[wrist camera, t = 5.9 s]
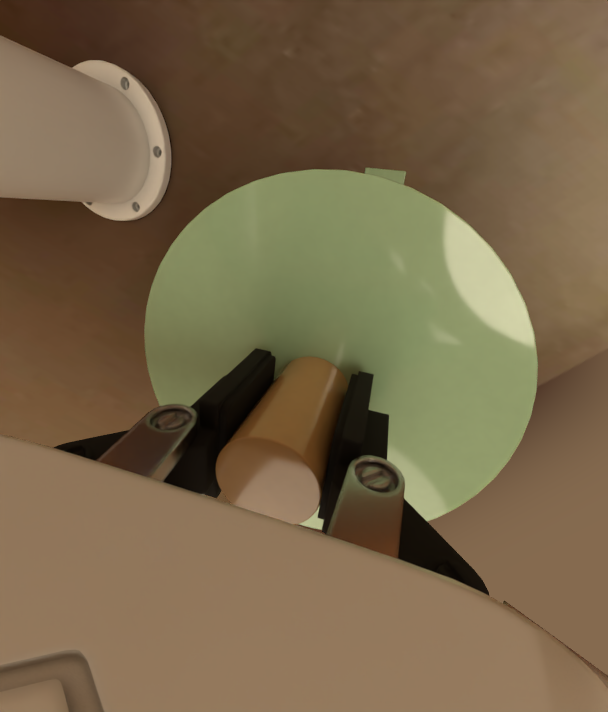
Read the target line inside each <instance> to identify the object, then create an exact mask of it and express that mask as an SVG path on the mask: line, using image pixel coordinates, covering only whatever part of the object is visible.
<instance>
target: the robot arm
mask: <svg viewBox="0 0 608 712" xmlns="http://www.w3.org/2000/svg"><path fill="white" fill-rule="evenodd" d="M170 172H171V146H170V139H169V134H168V130H167V127H166V124H165V120H164V118H163V116H162V113H161V111H160V109H159V107H158V105H157V103H156V101H155V100H154V98H153V97H152V95H151V94H150V92H149V91H148V90H147V89H146V87H145V86H144V85H143V84H142V83H141V82H140V81H139V80H138V79H137V78H135V77H134V76H133V75H132V74H130V73H129V72H128V71H126V70H124V69H122V68H120V67H118V66H116V65H115V64H112V63H108V62H105V61H102V60H89V61H85V62H81V63H79V64H77V65H76V66H74V67H72V68H71V67H69V66H66V65H64V64H62V63H60V62H58V61H55V60H53V59H51V58H49V57H47V56H44V55H42V54H40V53H38V52H36V51H33V50H31V49H29V48H27V47H25V46H23V45H20V44H18V43H16V42H14V41H12V40H9V39H7V38H5V37H3V36H1V35H0V197H4V198H22V199H41V200H59V201H78V202H82V203H83V204H84V205H85V206H86V207H88V208H89V209H90V210H92V211H93V212H94V213H96V214H98V215H100V216H102V217H104V218H108V219H111V220H118V221H129V220H136V219H139V218H142V217H144V216H146V215H147V214H149V213H150V212H151V211H153V210H154V209H155V207H156V206H157V205H158V204H159V203H160V201H161V199H162V197H163V196H164V194H165V192H166V189H167V185H168V182H169V179H170ZM275 362H276V358H275V356H272V354H271V351H267V350H262V349H258V348H256V349H254V350H253V351H252V352H251V353H250V354H249V355H248V356H247V357H246V358H245V359H244V360H243V361H241V362H240V363H239V364H238V365H237V366H236V367H235V368H234V369H233V370H232V371H231V372H230V373H228V374H227V375H225V376H223V377H222V378H221V379H220V380H219V381H218V382H217V383H216V384H214V385H213V386H212V387H211V388H210V389H209V390H208V391H207V392H206V393H205V394H204V395H202V396H201V397H200V398H199V399H198V400H197V401H196V402H195V403H194V404H193V405H192V406H186V405H183V404H167V405H163V406H159V407H157V408H155V409H153V410H151V411H150V412H148V413H147V414H146V415H145V416H144V417H143V418H142V419H141V420H140V421H139V422H137V423H136V424H135V425H134V426H133V427H132V428H131V429H130V430H127V431H123V432H118V433H113V434H108V435H103V436H98V437H93V438H88V439H83V440H79V441H74V442H69V443H65V444H62V445H59V446H56V447H54V448H52V447H49V446H45V445H41V444H37V443H34V442H30V441H26V440H23V439H19V438H15V437H12V436H7V435H1V434H0V712H608V676H607V675H606V674H604V673H603V672H602V671H600V670H599V669H598V668H596V667H595V666H594V665H592V664H591V663H589V662H588V661H587V660H585V659H584V658H583V657H581V656H580V655H578V654H577V653H576V652H574V651H573V650H572V649H570V648H569V647H567V646H566V645H564V644H563V643H562V642H561V641H559V640H558V639H556V638H555V637H554V636H552V635H551V634H550V633H548V632H547V631H545V630H544V629H543V628H541V627H540V626H539V625H537V624H536V623H534V622H533V621H531V620H530V619H529V618H528V617H526V616H525V615H523V614H522V613H521V612H519V611H518V610H517V609H515V608H514V607H512V606H511V605H510V604H508V603H507V602H506V601H504V602H503V603H501V602H499V601H497V600H496V599H494V598H492V597H490V596H489V592H488V590H487V588H486V586H485V584H484V582H483V580H482V579H481V578H480V577H479V576H478V574H477V573H476V572H475V570H474V569H473V568H472V567H471V566H469V564H468V563H467V562H466V561H465V560H464V559H463V558H462V557H461V556H460V555H459V554H458V553H457V552H456V551H455V550H454V549H453V548H452V547H451V546H450V545H449V544H448V543H447V542H446V541H445V540H444V539H443V538H442V537H441V536H440V535H439V534H438V533H437V531H436V530H434V528H433V527H432V526H431V525H429V523H428V522H427V521H426V520H425V519H424V518H423V517H422V516H421V515H420V514H419V513H418V512H417V511H416V510H415V509H414V508H413V507H412V506H411V505H410V504H409V503H408V502H407V501H406V500H405V499H404V491H405V479H404V477H403V475H402V473H401V471H400V470H399V469H398V468H397V467H396V466H395V465H394V464H392V463H391V462H389V461H388V460H387V450H388V430H389V415H388V414H384V413H380V412H376V411H372V410H368V409H369V402H370V396H371V390H372V383H373V377H374V374H370V373H366V372H361V371H359V372H358V375H356V374H352V375H351V378H350V382H349V385H348V389H347V392H346V395H345V399H344V402H343V405H342V409H341V412H340V415H339V419H338V422H337V425H336V429H335V432H334V436H333V441H332V445H331V450H330V456H329V461H328V466H327V471H326V484H325V488H324V492H323V495H322V499H321V502H320V507H319V512H318V518H320V519H323V520H324V521H323V526H322V532H324V533H325V534H326V535H325V534H321V533H318V532H315V531H312V530H309V529H306V528H303V527H300V526H297V525H294V524H291V523H288V522H285V521H282V520H279V519H276V518H273V517H270V516H267V515H264V514H261V513H257V512H254V511H251V510H248V509H245V508H242V507H239V506H236V505H233V504H230V503H226V502H223V501H220V500H217V499H214V498H217V497H218V495H219V494H220V492H221V489H220V487H219V484H218V481H217V478H216V471H215V468H216V461H217V457H218V455H219V453H220V451H221V450H222V449H223V447H224V446H225V445H226V443H227V442H228V441H229V439H230V438H231V437H232V435H233V434H234V433H235V431H236V430H237V429H238V427H239V426H240V425H241V423H242V422H243V421H244V419H245V418H246V417H247V415H248V414H249V413H250V411H251V410H252V409H253V408H254V406H255V405H256V404H257V402H258V401H259V400H260V398H261V397H262V396H263V394H264V393H265V392H266V390H267V389H268V388H269V386H270V385H271V384H272V382H273V381H274V372H275ZM202 494H205V495H208V496H211V497H214V498H211V497H208V496H205V495H202Z"/></svg>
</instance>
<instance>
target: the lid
mask: <svg viewBox="0 0 608 712" xmlns="http://www.w3.org/2000/svg"><path fill="white" fill-rule="evenodd" d="M144 334H145V353H146V360H147V366H148V372H149V375H150V379H151V383H152V386H153V390H154V392H155V395H156V397H157V400H158V403H159V405H160V406H163V405H167V404H183V405H186V406H192V405H193V404H194V403H195V402H196V401H197V400H198V399H199V398H200V397H201V396H202V395H204V394H205V393H206V392H207V391H208V390H209V389H210V388H211V387H212V386H213V385H214V384H216V383H217V382H218V381H219V380H220V379H221V378H222V377H223V376H225V375H227V374H228V373H230V372H231V371H232V370H233V369H234V368H235V367H236V366H237V365H238V364H239V363H240V362H241V361H243V360H244V359H245V358H246V357H247V356H248V355H249V354H250V353H251V352H252V351H253V350H254V349H256V348H258V349H262V350H267V351H271V354H272V356H275V358H276V362H275V372H274V381H273V382H272V384H271V385H270V386H269V388H268V389H267V390H266V392H265V393H264V394H263V396H262V397H261V398H260V400H259V401H258V402H257V404H256V405H255V406H254V408H253V409H252V410H251V411H250V413H249V414H248V415H247V417H246V418H245V419H244V421H243V422H242V423H241V425H240V426H239V427H238V429H237V430H236V431H235V433H234V434H233V435H232V437H231V438H230V439H229V441H228V442H227V443H226V445H225V446H224V447H223V449H222V450H221V451H220V453H219V455H218V457H217V461H216V468H215V471H216V478H217V481H218V484H219V487H220V489H221V491H222V492H223V494H224V495H225V497H226V498H227V499H228V500H229V502H230V503H231V504H233V505H236V506H239V507H242V508H245V509H248V510H251V511H254V512H257V513H261V514H264V515H267V516H270V517H273V518H276V519H279V520H282V521H285V522H288V523H291V524H294V525H296V524H299V525H303V526H307V527H310V528H315V529H321V530H322V526H323V521H324V520H323V519H320V518H318V512H319V507H320V502H321V499H322V495H323V492H324V488H325V484H326V471H327V466H328V461H329V456H330V450H331V445H332V441H333V436H334V432H335V429H336V425H337V422H338V419H339V415H340V412H341V409H342V405H343V402H344V399H345V395H346V392H347V389H348V385H349V382H350V378H351V375H352V374H356V375H358V372H359V371H361V372H366V373H370V374H374V377H373V383H372V390H371V396H370V402H369V409H368V410H372V411H376V412H380V413H384V414H388V415H389V430H388V450H387V460H388V461H389V462H391V463H392V464H394V465H395V466H396V467H397V468H398V469H399V470H400V471H401V473H402V475H403V477H404V479H405V491H404V499H405V500H406V501H407V502H408V503H409V504H410V505H411V506H412V507H413V508H414V509H415V510H416V511H417V512H418V513H419V514H420V515H421V516H422V517H423V518H424V519H425V520H426V521H429V520H432V519H435V518H438V517H440V516H442V515H444V514H446V513H448V512H450V511H452V510H454V509H455V508H457V507H459V506H461V505H462V504H463V503H465V502H466V501H468V500H469V499H471V498H472V497H474V496H475V495H477V493H479V492H480V491H481V490H482V489H483V488H484V487H485V486H486V485H488V484H489V483H490V482H491V481H492V480H493V479H494V478H495V477H496V476H497V474H498V473H499V472H500V471H501V470H502V468H503V467H504V466H505V465H506V464H507V462H508V461H509V460H510V458H511V456H512V454H513V453H514V451H515V450H516V448H517V446H518V445H519V443H520V441H521V440H522V437H523V434H524V432H525V429H526V427H527V424H528V422H529V419H530V417H531V413H532V409H533V404H534V399H535V395H536V390H537V372H538V358H537V349H536V341H535V333H534V330H533V326H532V323H531V320H530V316H529V313H528V309H527V306H526V303H525V301H524V299H523V297H522V295H521V293H520V291H519V289H518V287H517V285H516V283H515V281H514V279H513V277H512V275H511V273H510V272H509V270H508V269H507V268H506V266H505V265H504V263H503V262H502V261H501V259H500V258H499V256H498V255H497V253H496V252H495V251H494V249H493V248H492V247H491V246H490V245H489V244H488V243H487V242H486V241H485V240H484V239H483V238H482V237H481V236H480V235H479V234H478V233H477V232H476V231H475V230H474V229H473V228H472V227H471V225H470V224H468V223H467V222H466V221H464V220H463V219H462V218H460V217H459V216H458V215H456V214H455V213H454V212H452V211H451V210H450V209H448V208H447V207H446V206H444V205H443V204H441V203H440V202H438V201H436V200H434V199H432V198H430V197H428V196H426V195H424V194H423V193H421V192H419V191H417V190H415V189H413V188H411V187H408V186H406V185H403V184H400V183H397V182H394V181H391V180H388V179H385V178H383V177H380V176H375V175H370V174H364V173H359V172H354V171H348V170H328V169H310V170H302V171H293V172H285V173H280V174H277V175H273V176H270V177H266V178H262V179H259V180H255V181H253V182H251V183H248V184H246V185H244V186H242V187H240V188H238V189H235V190H233V191H231V192H229V193H227V194H226V195H224V196H223V197H221V198H220V199H218V200H217V201H215V202H214V203H212V204H211V205H209V206H208V207H206V208H205V209H204V210H203V211H202V212H201V213H200V214H198V215H197V216H196V217H195V218H194V219H193V220H192V221H191V222H190V223H189V224H188V225H187V226H186V227H185V228H184V229H183V231H182V232H181V233H180V235H179V236H178V237H177V238H176V240H175V241H174V242H173V243H172V245H171V246H170V248H169V250H168V252H167V253H166V255H165V257H164V258H163V260H162V262H161V264H160V266H159V268H158V271H157V273H156V276H155V278H154V281H153V284H152V286H151V290H150V295H149V299H148V303H147V307H146V317H145V327H144Z"/></svg>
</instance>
